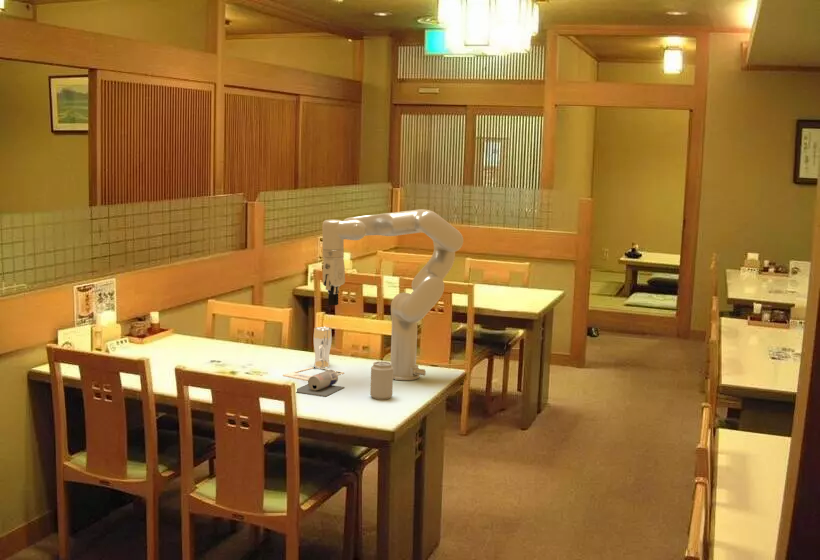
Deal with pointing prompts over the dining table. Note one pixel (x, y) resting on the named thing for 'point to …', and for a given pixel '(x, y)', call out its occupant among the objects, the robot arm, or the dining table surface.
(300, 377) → the photo frame
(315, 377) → the energy drink
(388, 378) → the can
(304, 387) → the mat
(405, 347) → the robot arm
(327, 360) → the beer glass
